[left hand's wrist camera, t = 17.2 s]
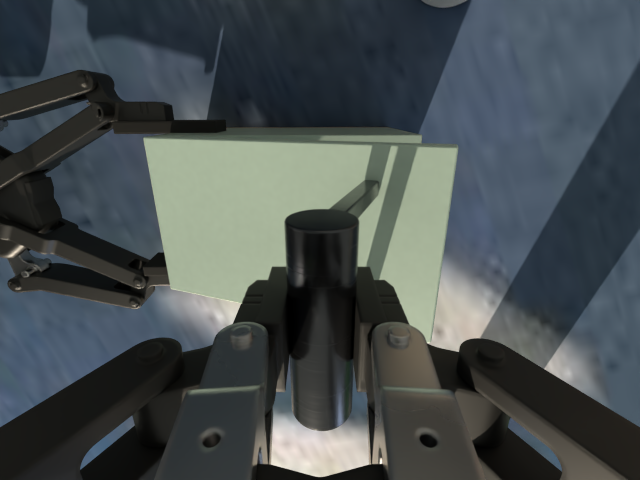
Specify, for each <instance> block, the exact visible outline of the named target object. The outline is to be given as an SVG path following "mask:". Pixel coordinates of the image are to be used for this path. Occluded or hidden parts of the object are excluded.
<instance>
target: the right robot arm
mask: <svg viewBox="0 0 640 480" xmlns="http://www.w3.org/2000/svg"><path fill="white" fill-rule="evenodd" d="M84 100H89V102H87V104H90V106H88V107H87V108H85V109H84V110H82V111H81V112H79V113H78V114H76V115H75V116H73V117H72V118H70V119H69V120H67V121H66V122H64V123H63V124H61V125H60V126H58V127H57V128H55V129H54V130H52V131H51V132H49V133H48V134H46V135H45V136H43V137H42V138H40V139H39V140H37V141H36V142H34V143H33V144H31V145H30V146H28V147H27V148H25V149H24V150H22V151H20V152H18V153H15V154H14V153H13V152H11V151H9V150H8V149H6V148H4V147H2V146H1V145H0V257H2V258H7V259H8V261H9V263H10V265H11V267H12V269H13V271H14V273H15V277H13V278H11V279H10V280H9V281H8V287H9V288H10V289H11V290H12V291H14V292H30V291H40V290H41V291H46V292H51V293H56V294H61V295H66V296H71V297H76V298H81V299H86V300H91V301H96V302H101V303H106V304H111V305H116V306H121V307H126V308H131V309H138V308H140V307H141V306H142V305H143V303H144V302H145V301H146V300H147V299H148V298H149V297H150V295H151V294H152V293H153V292H154V291H155V286H167V285H170V282H169V276H168V271H167V265H166V260H165V254H164V253H157V254H156V255H155V256H154V257H153V258H152V259H151V260H148V259H146V258H144V257H141V256H139V255H137V254H135V253H132V252H130V251H128V250H125V249H123V248H121V247H118V246H116V245H114V244H112V243H109V242H107V241H105V240H102V239H100V238H98V237H96V236H93V235H91V234H89V233H86V232H84V231H82V230H80V229H78V226H77V225H76V224H74V223H72V222H70V221H68V220H65V219H63V218H62V214H61V211H60V208H59V206H58V204H57V202H56V201H55V199H54V187H53V183H52V180H51V177H46V175H45V174H46V173H47V172H49V171H51V170H52V169H54V168H55V167H57V166H58V165H60V164H61V163H60V162H61V161H63V160H65V159H66V158H68V157H69V156H71V155H72V154H74V153H75V152H77V151H79V150H80V149H82V148H83V147H85V146H86V145H88V144H89V143H91V142H93V141H94V140H96V139H97V138H99V137H100V136H102V135H103V134H105V133H107V132H108V131H110V130H111V129H114V134H168V133H218V132H223V131H226V121H225V120H174V116H173V109H172V105H170V104H167V103H165V102H125V101H123V100H122V99H120V98H119V97H118V95H117V94H116V92H115V90H114V81H113V80H112V78H111V77H110V76H109V75H106V74H103V73H97V72H91V71H85V70H77V71H73V72H70V73H67V74H64V75H60V76H57V77H54V78H51V79H47V80H44V81H41V82H38V83H34V84H31V85H28V86H25V87H21V88H18V89H15V90H12V91H8V92H5V93H2V94H0V132H1V131H2V130H3V129H4V127H7V126H8V122H7V120H19V119H24V118H28V117H31V116H34V115H38V114H41V113H44V112H48V111H51V110H54V109H58V108H61V107H64V106H68V105H71V104H74V103H78V102H81V101H84ZM29 250H34V251H36V252H39V253H42V254H55V255H57V256H60V257H62V258H65V259H67V260H70V261H72V262H74V263H77V264H79V265H82V266H84V267H86V268H83V267H78V266H73V265H69V264H62V263H52V262H51V260H50V259H48V258H45V259H44V260H43V259H39V258H35V257H33V256H32V255H31V254H30V252H29ZM88 268H89V269H88Z"/></svg>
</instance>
